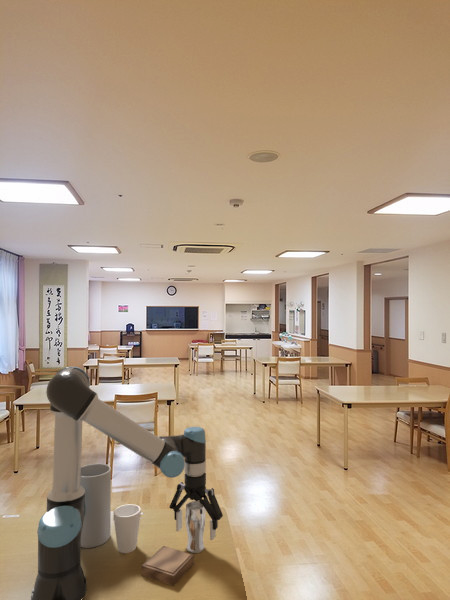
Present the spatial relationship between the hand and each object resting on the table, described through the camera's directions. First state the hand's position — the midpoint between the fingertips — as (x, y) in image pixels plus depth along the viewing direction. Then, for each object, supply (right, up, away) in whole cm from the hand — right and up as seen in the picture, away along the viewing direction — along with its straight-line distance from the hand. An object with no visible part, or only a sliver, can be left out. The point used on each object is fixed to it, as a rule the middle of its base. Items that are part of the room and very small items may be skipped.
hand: (195, 533), depth 144 cm
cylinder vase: (-38, -6, +6) cm, 39 cm away
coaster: (-8, -5, -12) cm, 15 cm away
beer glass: (0, -5, 0) cm, 5 cm away
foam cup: (-24, -5, 0) cm, 25 cm away
